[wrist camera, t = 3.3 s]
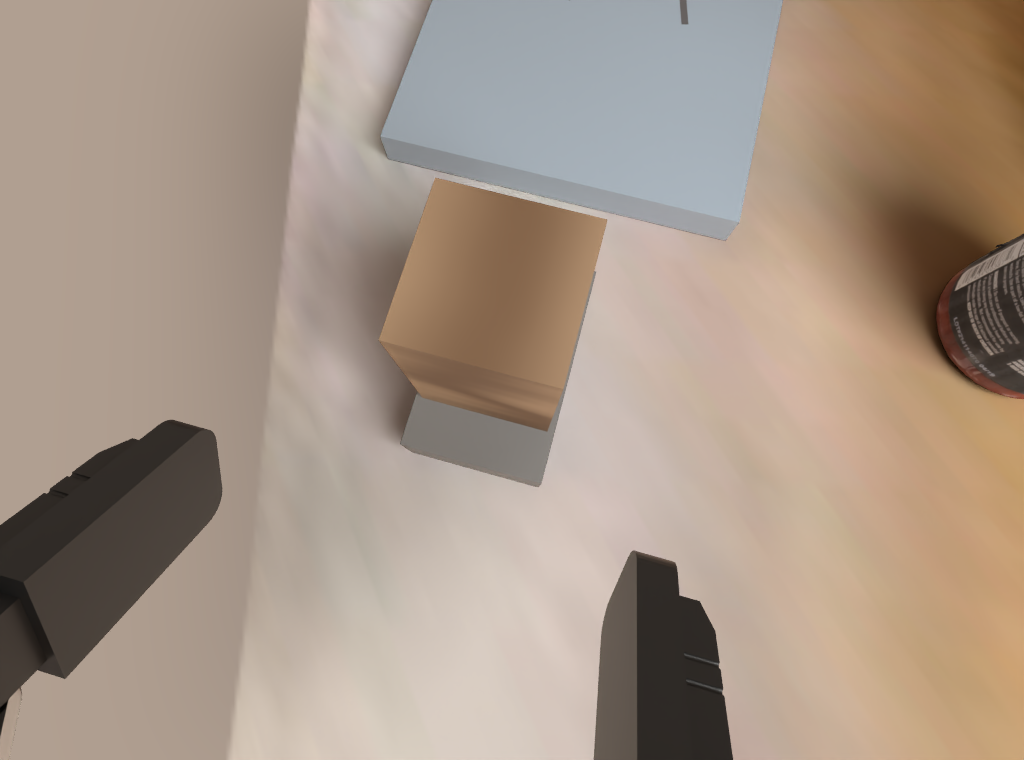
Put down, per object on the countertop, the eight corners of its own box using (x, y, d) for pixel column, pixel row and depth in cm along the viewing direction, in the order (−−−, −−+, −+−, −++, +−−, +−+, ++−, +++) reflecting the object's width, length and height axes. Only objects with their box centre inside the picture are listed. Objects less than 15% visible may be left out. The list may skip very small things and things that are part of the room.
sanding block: (587, 297, 23) (632, 162, 14) (538, 487, 21) (555, 465, 12) (471, 268, 23) (446, 118, 15) (412, 452, 21) (343, 407, 13)
